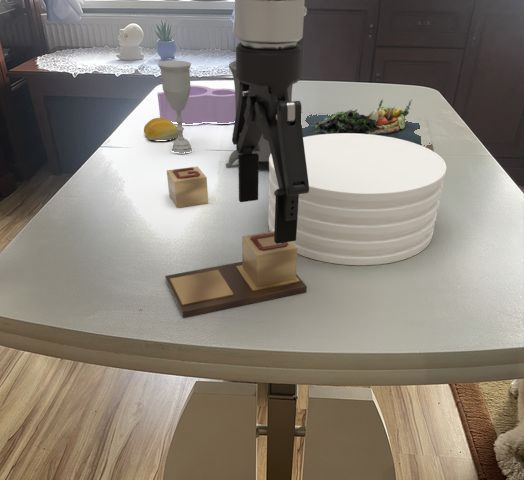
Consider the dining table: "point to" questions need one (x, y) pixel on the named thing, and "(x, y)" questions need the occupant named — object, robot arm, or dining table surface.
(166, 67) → the chalice
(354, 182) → the plate stack
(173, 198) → the letter G
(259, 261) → the letter O
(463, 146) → the dining table surface
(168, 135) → the bread roll
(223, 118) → the purple block with holes
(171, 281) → the word board
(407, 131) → the plated dish
